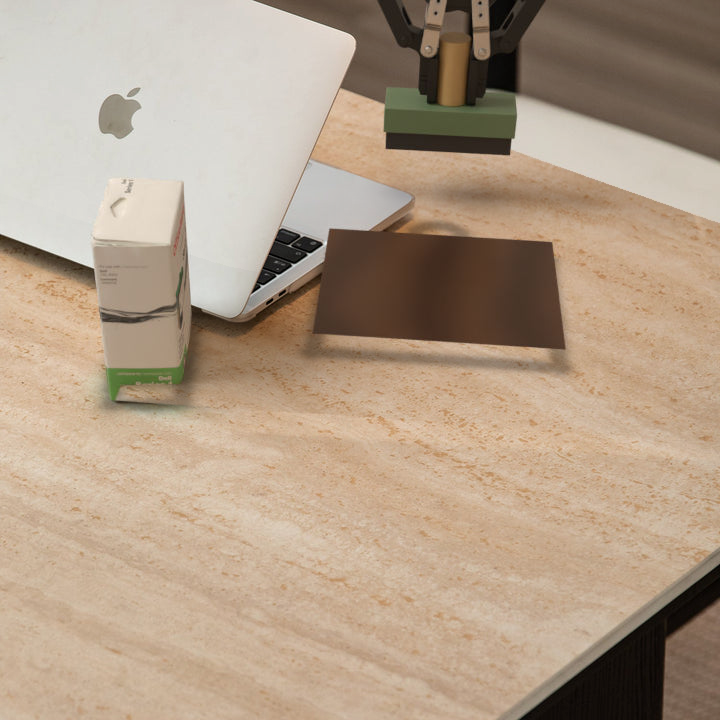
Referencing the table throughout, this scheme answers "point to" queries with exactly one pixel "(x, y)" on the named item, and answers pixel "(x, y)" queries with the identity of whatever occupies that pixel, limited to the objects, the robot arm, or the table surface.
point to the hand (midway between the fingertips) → (451, 99)
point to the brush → (450, 110)
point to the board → (439, 289)
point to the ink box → (142, 282)
